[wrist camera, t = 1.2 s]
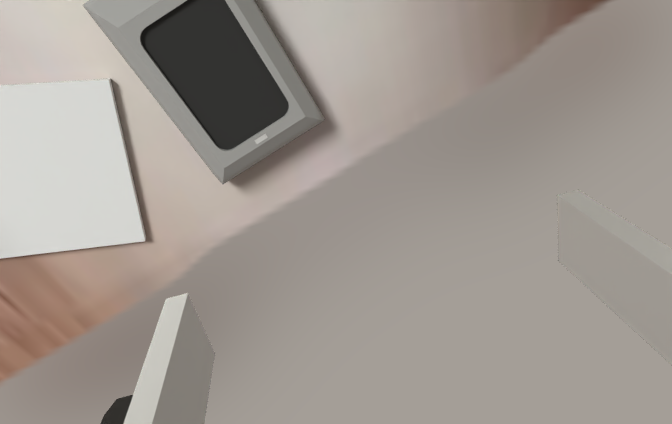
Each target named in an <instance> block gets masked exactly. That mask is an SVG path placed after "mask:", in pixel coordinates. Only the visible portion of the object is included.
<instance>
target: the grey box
mask: <svg viewBox="0 0 672 424" xmlns="http://www.w3.org/2000/svg"><path fill="white" fill-rule="evenodd" d="M83 6H84V7H85V9H86V10H87V11H88V13H89V14H90V15H91V17H92V18H93V19H94V20H95V22H96V23H97V24H98V26H99V27H100V28H101V29H102V31H103V32H104V33H105V35H106V36H107V37H108V38H109V40H110V41H111V42H112V44H113V45H114V46H115V47H116V49H117V50H118V51H119V53H120V54H121V55H122V57H123V58H124V59H125V60H126V62H127V63H128V64H129V66H130V67H131V68H132V69H133V71H134V72H135V73H136V75H137V76H138V77H139V78H140V80H141V81H142V82H143V84H144V85H145V86H146V87H147V89H148V90H149V91H150V93H151V94H152V95H153V97H154V98H155V99H156V100H157V102H158V103H159V104H160V106H161V107H162V108H163V109H164V111H165V112H166V113H167V115H168V116H169V117H170V118H171V120H172V121H173V122H174V124H175V125H176V126H177V127H178V129H179V130H180V131H181V133H182V134H183V135H184V137H185V138H186V139H187V140H188V142H189V143H190V144H191V146H192V147H193V148H194V149H195V151H196V152H197V153H198V155H199V156H200V157H201V158H202V160H203V161H204V162H205V164H206V165H207V166H208V167H209V169H210V170H211V171H212V173H213V174H214V175H215V176H216V177H217V178H218V180H219V181H220V182H221V183H222V184H224V183H226V182H227V181H229V180H231V179H232V178H234V177H235V176H237V175H238V174H240V173H242V172H243V171H245V170H246V169H248V168H250V167H251V166H253V165H254V164H256V163H257V162H259V161H261V160H262V159H264V158H265V157H267V156H269V155H270V154H272V153H273V152H275V151H276V150H278V149H280V148H281V147H283V146H284V145H286V144H287V143H289V142H291V141H292V140H294V139H295V138H297V137H299V136H300V135H302V134H303V133H305V132H306V131H308V130H310V129H311V128H313V127H314V126H316V125H318V124H319V123H321V122H322V121H324V120H325V119H324V117H323V115H322V114H321V112H320V110H319V108H318V107H317V105H316V103H315V102H314V100H313V98H312V97H311V95H310V93H309V92H308V90H307V88H306V87H305V85H304V83H303V81H302V80H301V78H300V76H299V75H298V73H297V71H296V70H295V68H294V66H293V65H292V63H291V61H290V60H289V58H288V56H287V55H286V53H285V51H284V49H283V48H282V46H281V44H280V43H279V41H278V39H277V38H276V36H275V34H274V33H273V31H272V29H271V28H270V26H269V24H268V23H267V21H266V19H265V17H264V16H263V14H262V12H261V11H260V9H259V7H258V6H257V4H256V2H255V1H254V0H89V1H88V2H86V3H85V4H83Z"/></svg>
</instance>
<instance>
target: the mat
mask: <svg viewBox="0 0 672 424" xmlns="http://www.w3.org/2000/svg"><path fill="white" fill-rule="evenodd" d="M143 241H146V234H145V230H144V225H143V221H142V216H141V212H140V207H139V203H138V199H137V194H136V190H135V185H134V181H133V176H132V172H131V167H130V163H129V159H128V154H127V150H126V145H125V141H124V136H123V132H122V127H121V123H120V119H119V114H118V110H117V105H116V101H115V96H114V92H113V88H112V83H111V79H94V80H77V81H60V82H43V83H26V84H9V85H0V259H1V258H9V257H17V256H26V255H34V254H43V253H51V252H59V251H68V250H76V249H84V248H93V247H101V246H109V245H118V244H126V243H134V242H143Z"/></svg>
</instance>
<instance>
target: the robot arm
mask: <svg viewBox="0 0 672 424" xmlns="http://www.w3.org/2000/svg"><path fill="white" fill-rule="evenodd" d="M557 211H558V212H557V214H558V261H559V262H560V263H561V264H562V265H563V266H564V267H566V269H568V270H569V271H570V272H571V273H572V274H573V275H574V276H575V277H576V278H577V279H578V280H580V281H581V282H582V283H583V284H584V285H585V286H586V287H587V288H588V289H589V290H590V291H591V292H592V293H594V294H595V295H596V296H597V297H598V298H599V299H600V300H601V301H602V302H603V303H604V304H606V305H607V306H608V307H609V308H610V309H611V310H612V311H613V312H614V313H615V314H616V315H618V316H619V317H620V318H621V319H622V320H623V321H624V322H625V323H626V324H627V325H628V326H629V327H631V328H632V329H633V330H634V331H635V332H636V333H637V334H638V335H639V336H640V337H642V338H643V339H644V340H645V341H646V342H647V343H648V344H649V345H650V346H651V347H653V349H655V350H656V351H657V352H658V353H659V354H660V355H661V356H662V357H663V358H664V359H665V360H667V361H668V362H669V363H670V364H671V365H672V248H671V247H669V246H667V245H666V244H664V243H663V242H661V241H660V240H658V239H656V238H654V237H653V236H651V235H650V234H648V233H647V232H645V231H644V230H642V229H640V228H639V227H637V226H636V225H634V224H632V223H631V222H629V221H627V220H626V219H624V218H623V217H621V216H620V215H618V214H617V213H615V212H613V211H612V210H610V209H608V208H607V207H605V206H604V205H602V204H601V203H599V202H597V201H596V200H594V199H592V198H591V197H589V196H588V195H586V194H585V193H583V192H581V191H580V190H575V191H571V192H567V193H564V194H560V195H557ZM214 356H215V352H214V350H213V348H212V345H211V343H210V341H209V339H208V336H207V334H206V332H205V330H204V328H203V325H202V323H201V321H200V319H199V316H198V314H197V312H196V310H195V308H194V305H193V303H192V301H191V299H190V296H189V294H188V293H187V294H183V295H179V296H175V297H171V298H167V299H166V301H165V303H164V306H163V309H162V312H161V315H160V318H159V321H158V324H157V327H156V330H155V333H154V336H153V339H152V342H151V345H150V348H149V350H148V353H147V356H146V359H145V362H144V365H143V368H142V371H141V374H140V377H139V380H138V383H137V385H136V389H135V392H134V394H133V395H130V396H126V397H123V398H119V399H117V400H116V401H115V402H114V403H113V405H112V406H111V407H110V408H109V410H108V411H107V412H106V414H105V415H104V417H103V419H102V422H101V424H204V422H205V415H206V408H207V402H208V395H209V389H210V382H211V376H212V369H213V363H214Z"/></svg>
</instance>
